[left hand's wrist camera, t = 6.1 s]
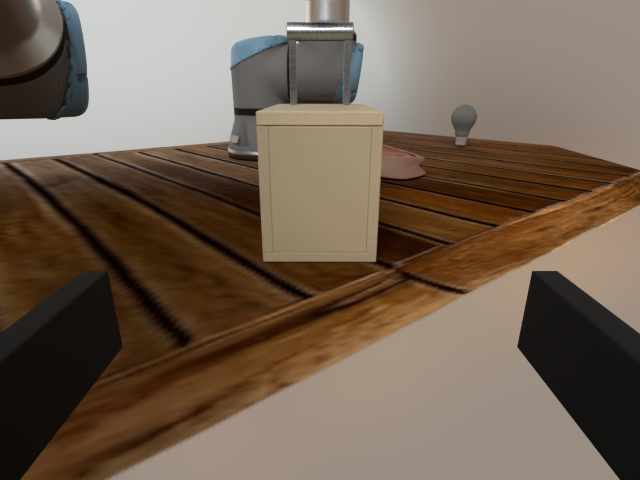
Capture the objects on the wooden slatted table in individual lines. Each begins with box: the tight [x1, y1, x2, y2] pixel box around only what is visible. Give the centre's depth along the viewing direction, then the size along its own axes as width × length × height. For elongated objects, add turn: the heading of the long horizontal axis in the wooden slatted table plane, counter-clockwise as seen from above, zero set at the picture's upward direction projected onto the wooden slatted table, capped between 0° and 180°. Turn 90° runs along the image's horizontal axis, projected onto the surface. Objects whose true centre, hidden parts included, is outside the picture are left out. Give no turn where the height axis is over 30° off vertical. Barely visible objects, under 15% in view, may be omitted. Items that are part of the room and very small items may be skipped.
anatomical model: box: [381, 145, 426, 179], centre depth 71 cm, size 13×4×12 cm
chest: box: [256, 125, 383, 262], centre depth 40 cm, size 17×10×11 cm, turn 0°
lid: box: [256, 22, 384, 126], centre depth 37 cm, size 17×10×9 cm, turn 0°
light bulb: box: [451, 105, 477, 146], centre depth 101 cm, size 6×6×10 cm
